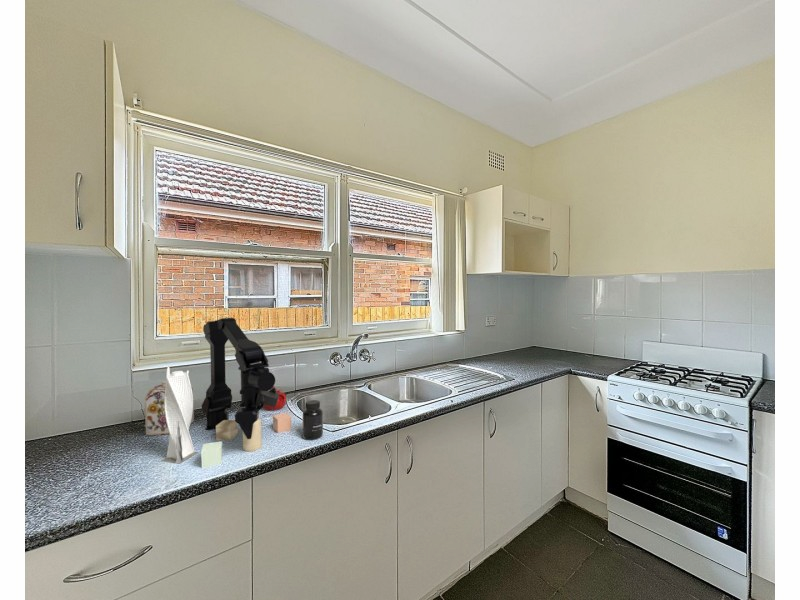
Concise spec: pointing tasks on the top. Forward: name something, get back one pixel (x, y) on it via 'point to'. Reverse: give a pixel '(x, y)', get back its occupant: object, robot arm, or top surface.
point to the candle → (253, 438)
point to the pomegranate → (280, 401)
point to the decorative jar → (157, 411)
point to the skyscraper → (178, 416)
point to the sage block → (211, 454)
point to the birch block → (226, 430)
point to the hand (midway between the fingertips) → (252, 432)
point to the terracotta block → (282, 422)
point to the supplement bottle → (312, 420)
